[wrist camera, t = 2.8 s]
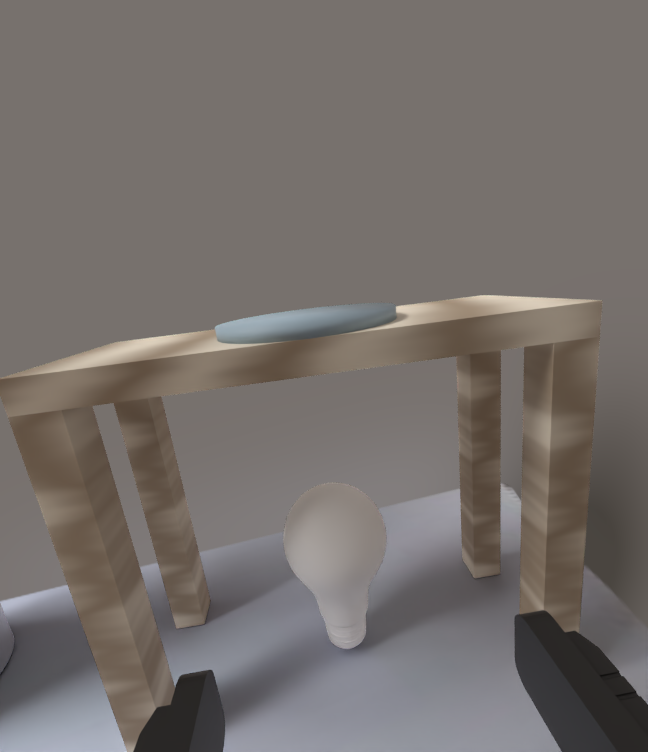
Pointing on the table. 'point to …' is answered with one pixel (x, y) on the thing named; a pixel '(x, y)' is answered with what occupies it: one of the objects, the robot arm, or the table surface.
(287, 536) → the lightbulb
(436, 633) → the table surface
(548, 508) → the stool
